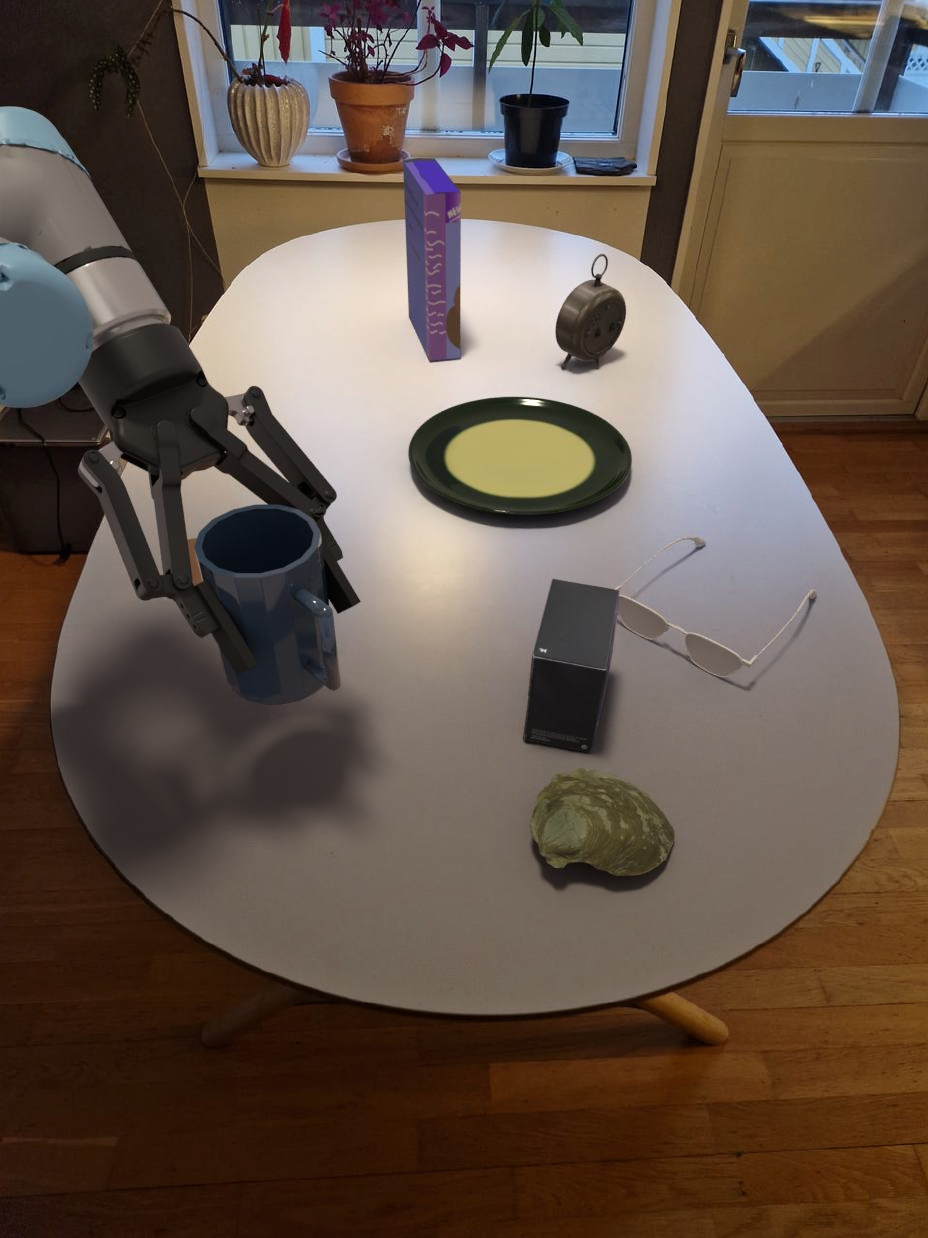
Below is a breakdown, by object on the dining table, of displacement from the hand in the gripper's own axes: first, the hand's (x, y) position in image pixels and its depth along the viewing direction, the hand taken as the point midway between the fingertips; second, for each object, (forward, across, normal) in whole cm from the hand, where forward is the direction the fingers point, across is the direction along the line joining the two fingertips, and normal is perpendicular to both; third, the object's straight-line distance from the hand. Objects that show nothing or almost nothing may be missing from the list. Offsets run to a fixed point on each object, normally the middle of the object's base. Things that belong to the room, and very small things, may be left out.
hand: (300, 637), depth 60 cm
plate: (-3, -49, -27) cm, 56 cm away
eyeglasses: (+20, -43, -4) cm, 47 cm away
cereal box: (-28, -69, -52) cm, 91 cm away
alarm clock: (-11, -78, -35) cm, 87 cm away
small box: (+18, -21, -6) cm, 29 cm away
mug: (+2, 0, -5) cm, 5 cm away
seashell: (+26, -12, +2) cm, 29 cm away
